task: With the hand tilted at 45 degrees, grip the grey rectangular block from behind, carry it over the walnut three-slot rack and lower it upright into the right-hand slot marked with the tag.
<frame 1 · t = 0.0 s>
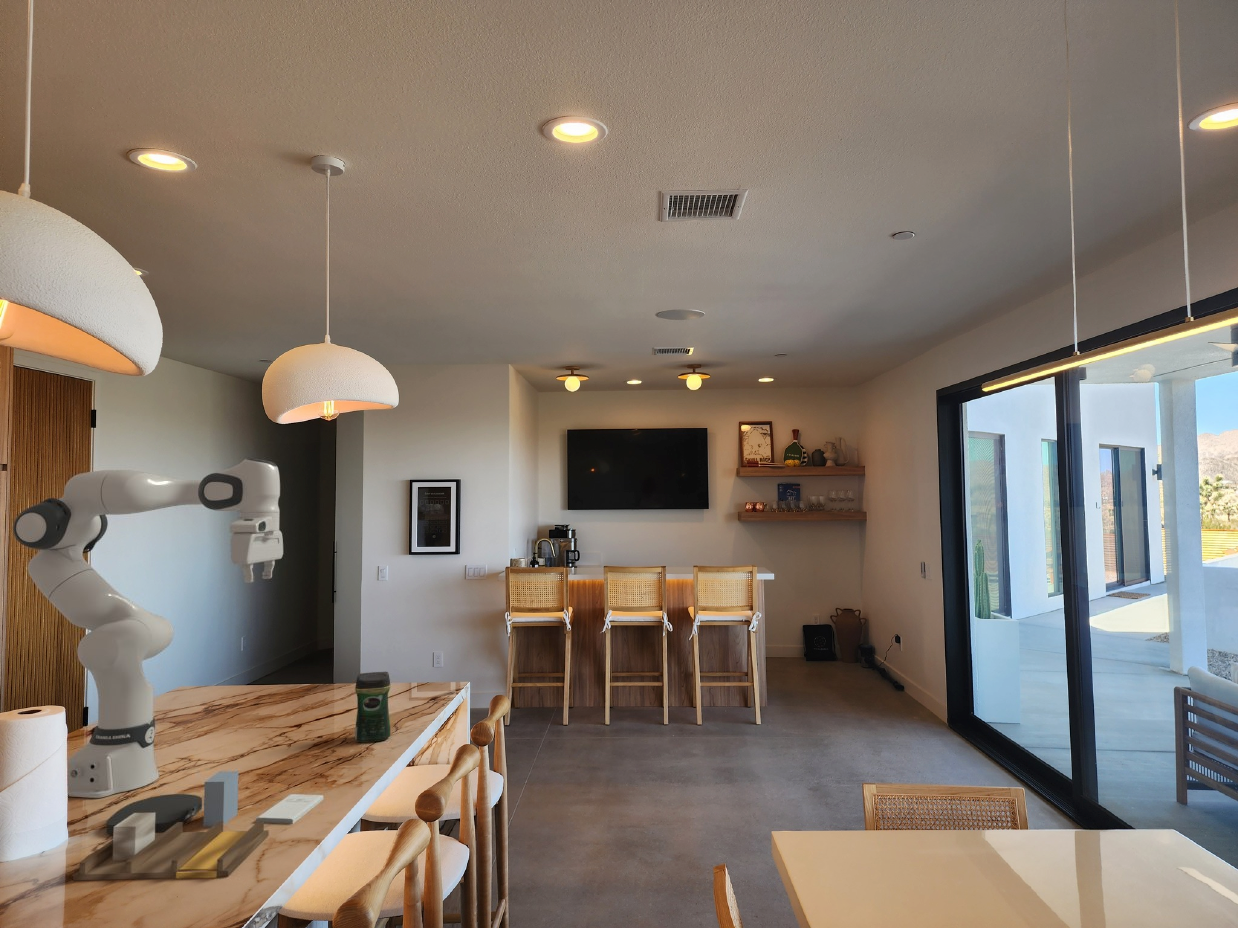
hand: (258, 580, 176), 48 cm above the table, fingers open, 8 cm apart
rack: (177, 856, 136), on the table
grey rectangular block: (220, 819, 152), on the table
external hard drive: (291, 813, 156), on the table
media streaming box: (155, 821, 152), on the table
coffee jar: (372, 739, 204), on the table
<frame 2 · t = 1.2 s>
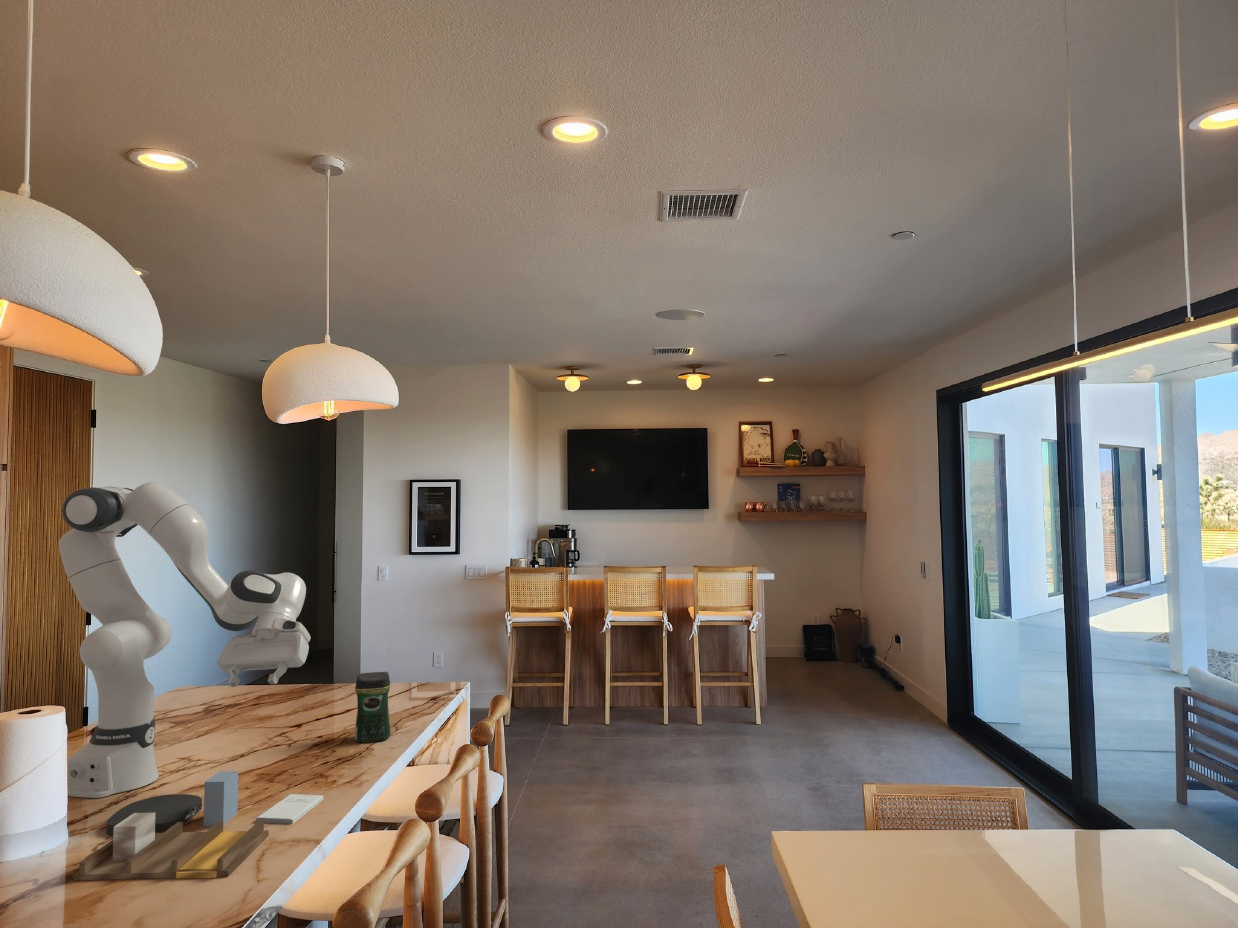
hand: (252, 684, 165), 25 cm above the table, fingers open, 8 cm apart
nothing on the table moved.
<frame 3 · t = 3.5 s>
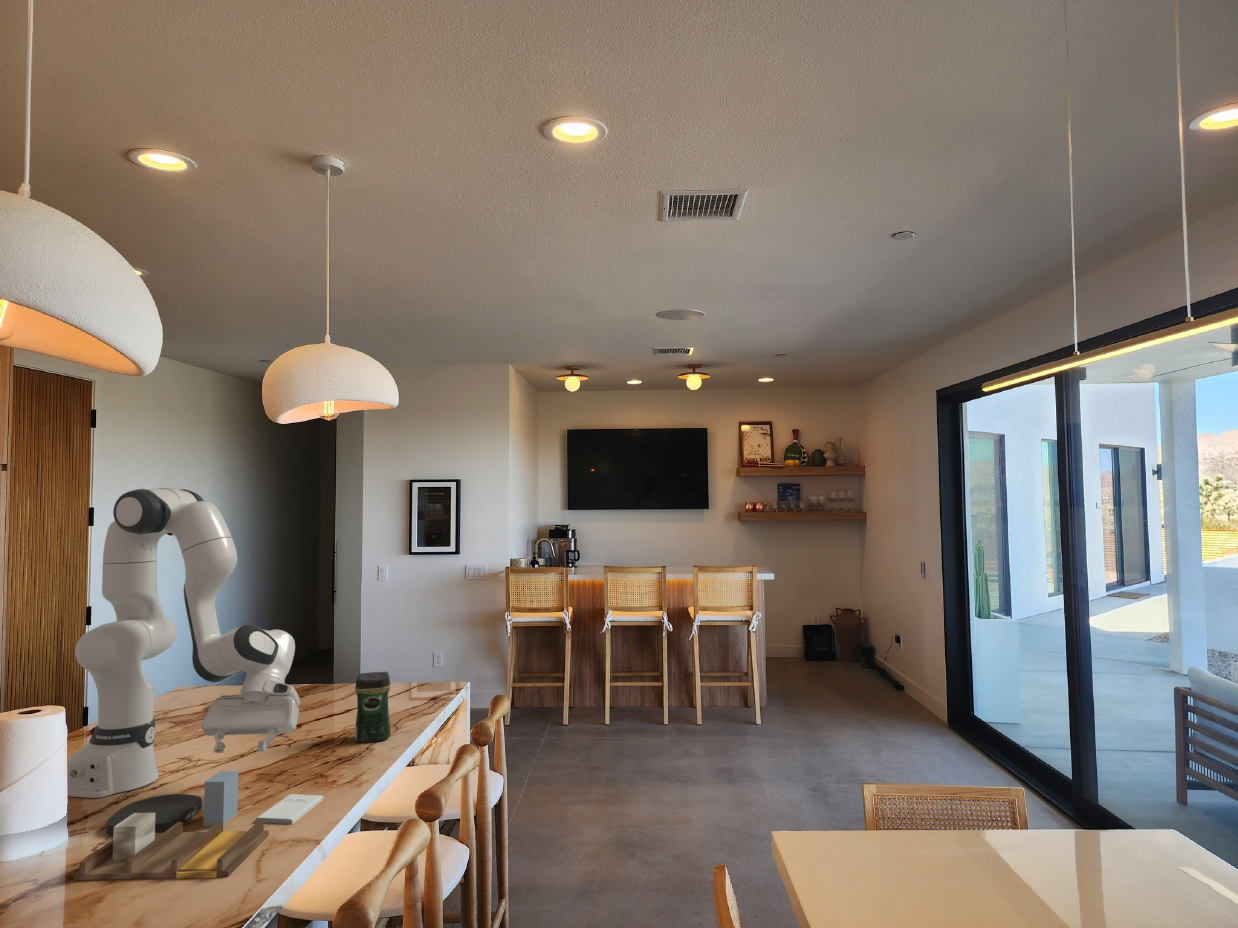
hand: (239, 750, 159), 12 cm above the table, fingers open, 8 cm apart
nothing on the table moved.
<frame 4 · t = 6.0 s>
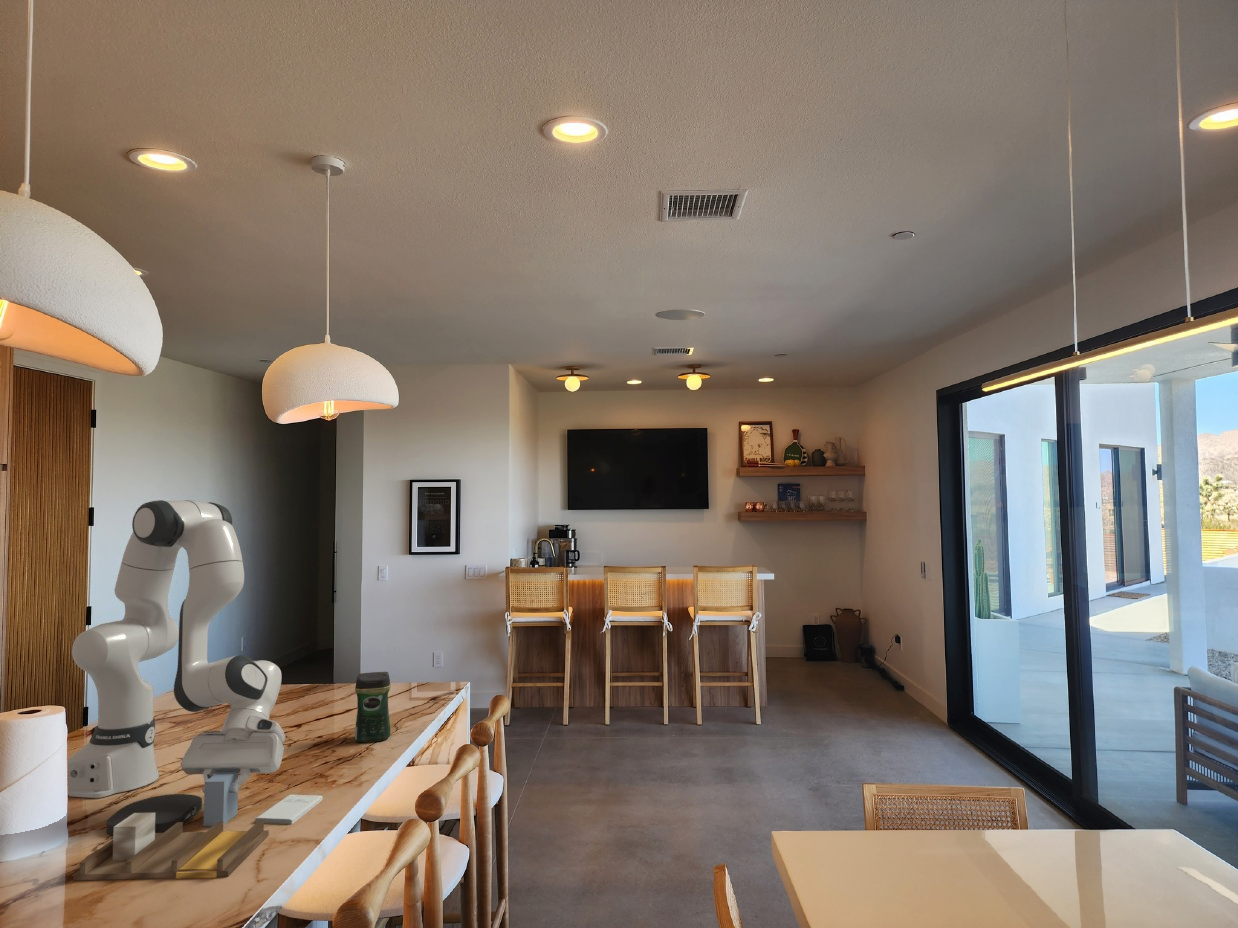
hand: (219, 792, 151), 6 cm above the table, fingers closed on grey rectangular block, 4 cm apart
grey rectangular block: (220, 819, 152), on the table, touching gripper
everything else where it was.
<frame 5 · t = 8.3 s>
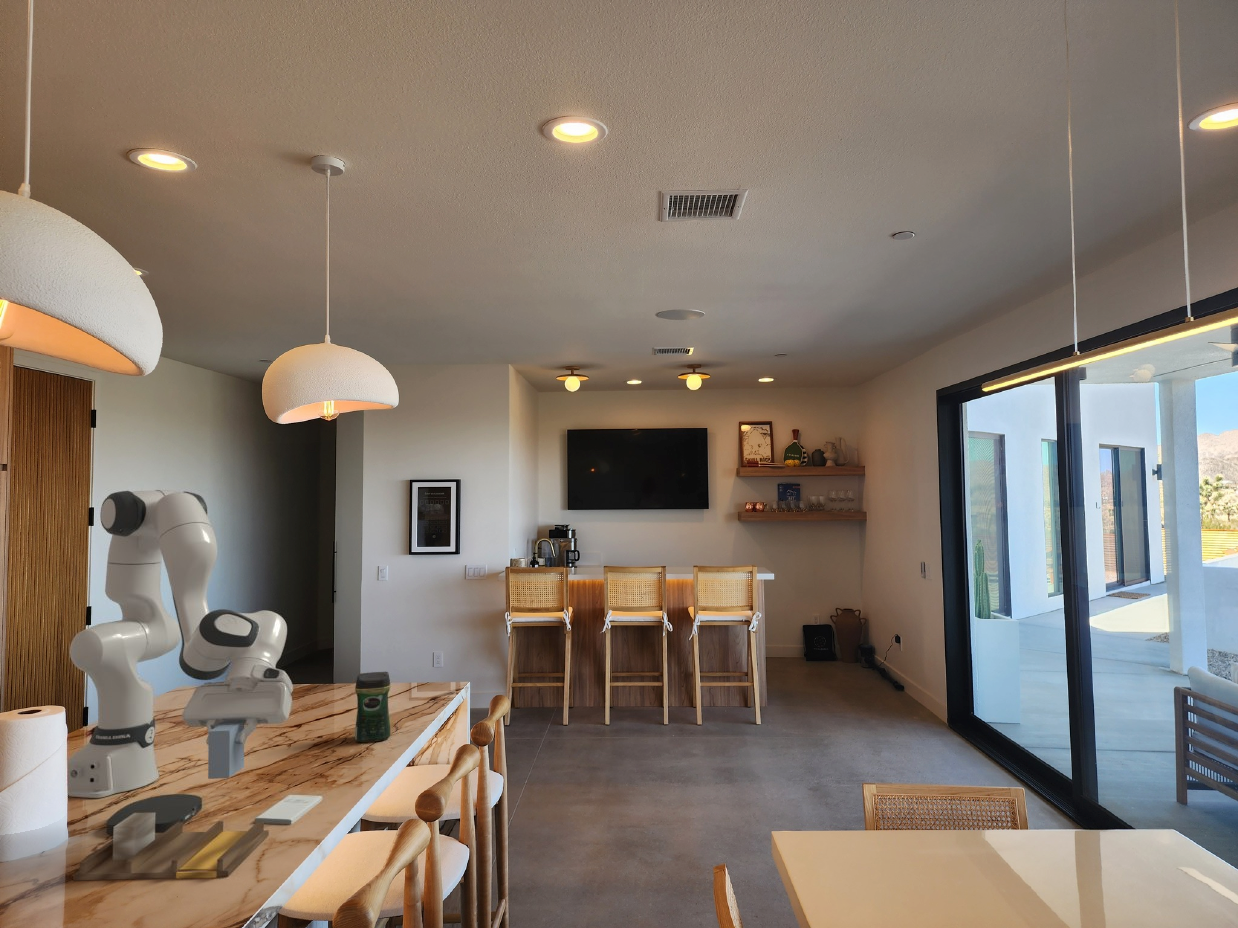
hand: (225, 743, 142), 19 cm above the table, fingers closed on grey rectangular block, 4 cm apart
grey rectangular block: (226, 772, 142), point 14 cm above the table, touching gripper
everything else where it was.
when the fingers open (8 cm above the table, at t = 11.1 s): grey rectangular block stays where it is, resting on rack.
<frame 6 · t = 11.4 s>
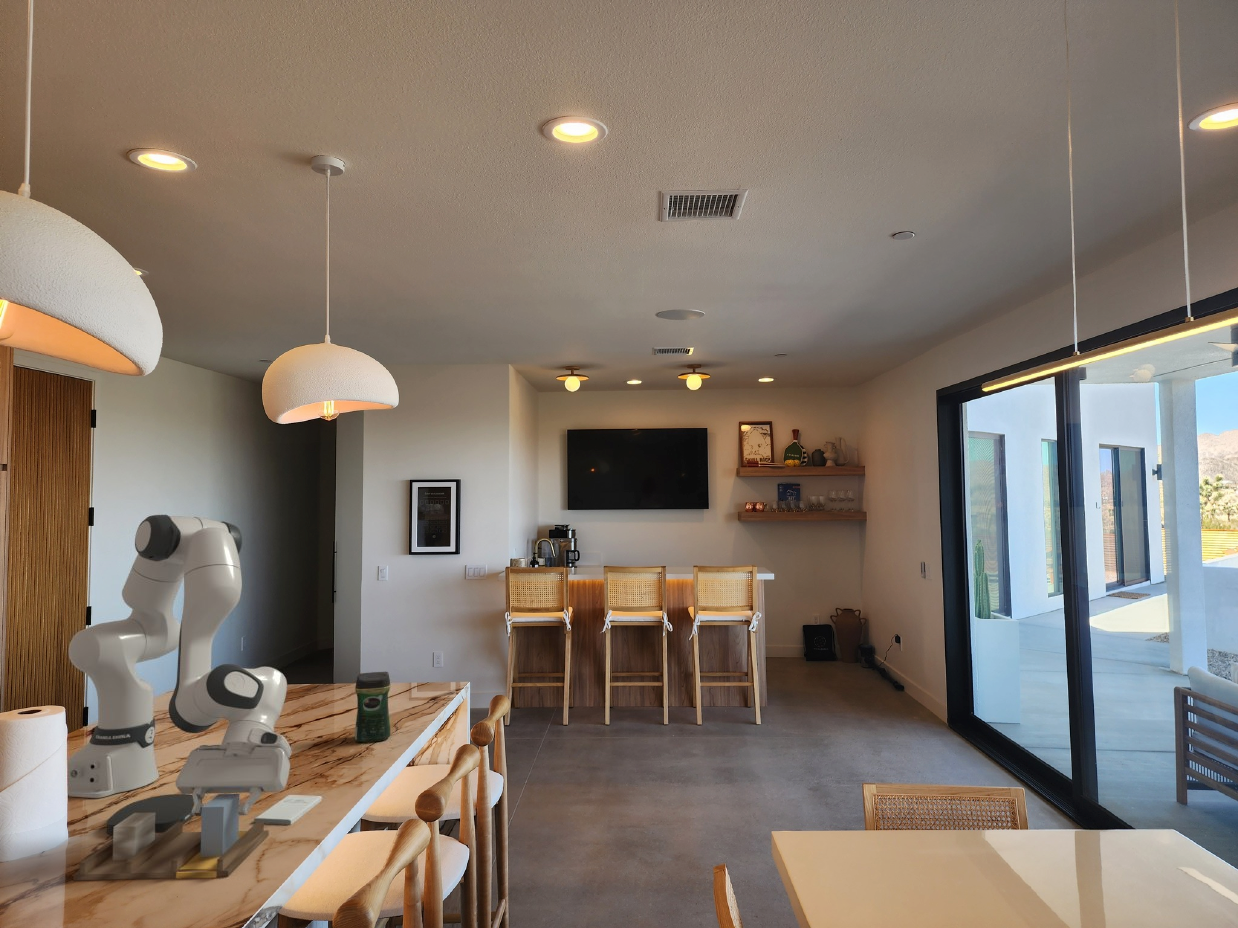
hand: (219, 814, 136), 8 cm above the table, fingers open, 7 cm apart
grey rectangular block: (219, 848, 136), point 1 cm above the table, touching rack
everything else where it was.
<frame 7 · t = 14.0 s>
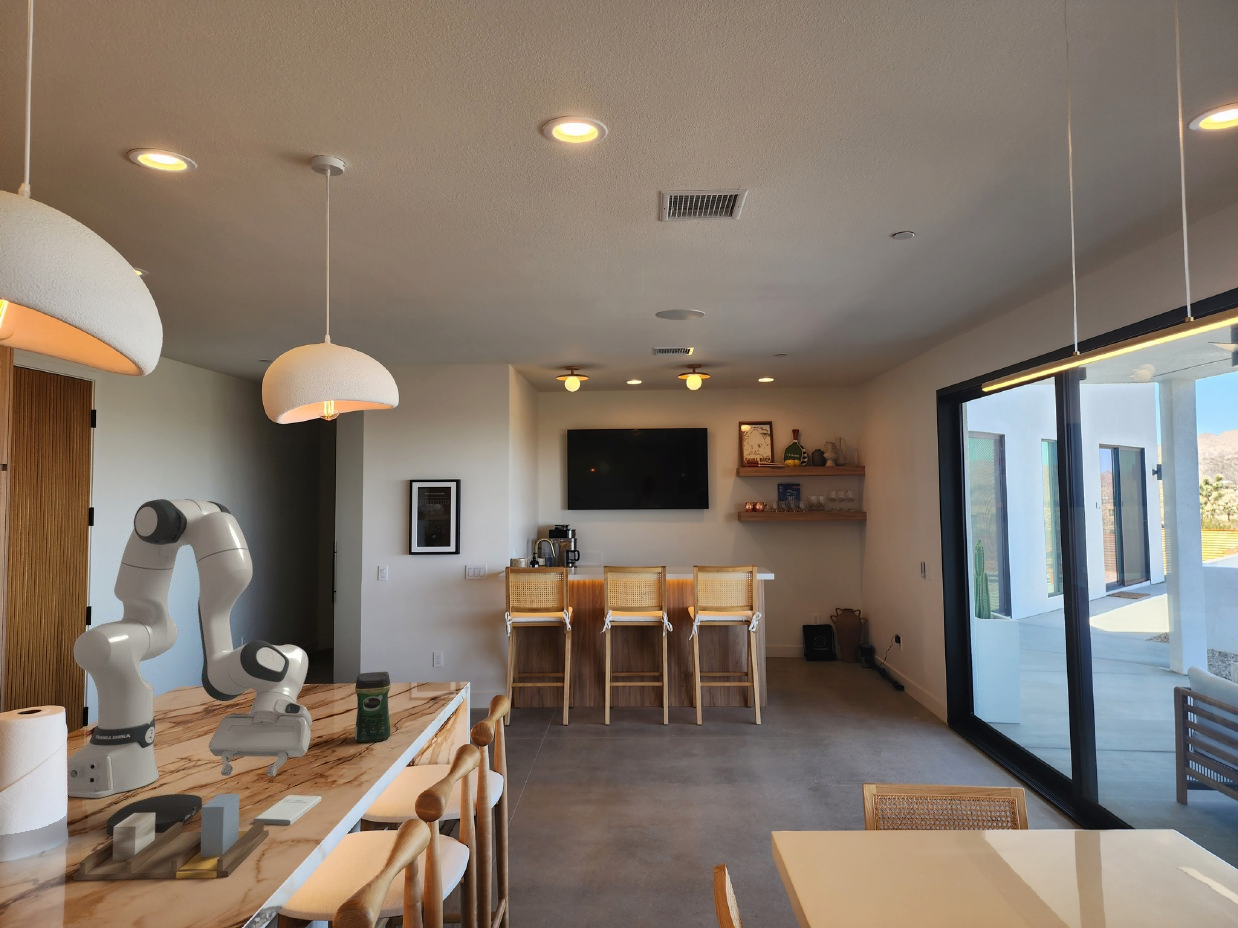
hand: (247, 774, 151), 10 cm above the table, fingers open, 8 cm apart
nothing on the table moved.
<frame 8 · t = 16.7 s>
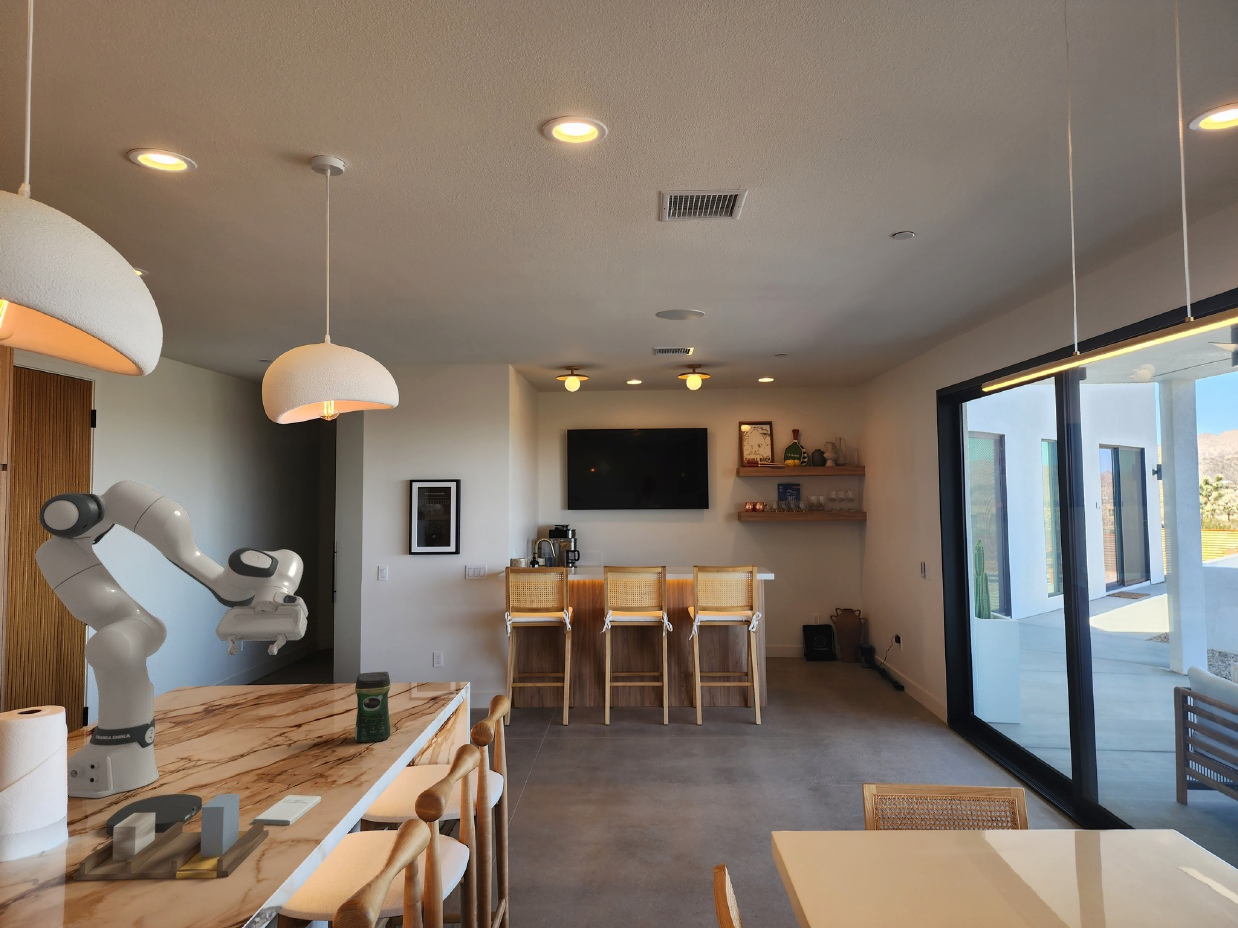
hand: (251, 653, 170), 31 cm above the table, fingers open, 8 cm apart
nothing on the table moved.
at the end: grey rectangular block inside the target area on the rack (0.1 cm from its centre), point 1.2 cm above the rack's base; grey rectangular block tilted 0°; the gripper is holding nothing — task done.
